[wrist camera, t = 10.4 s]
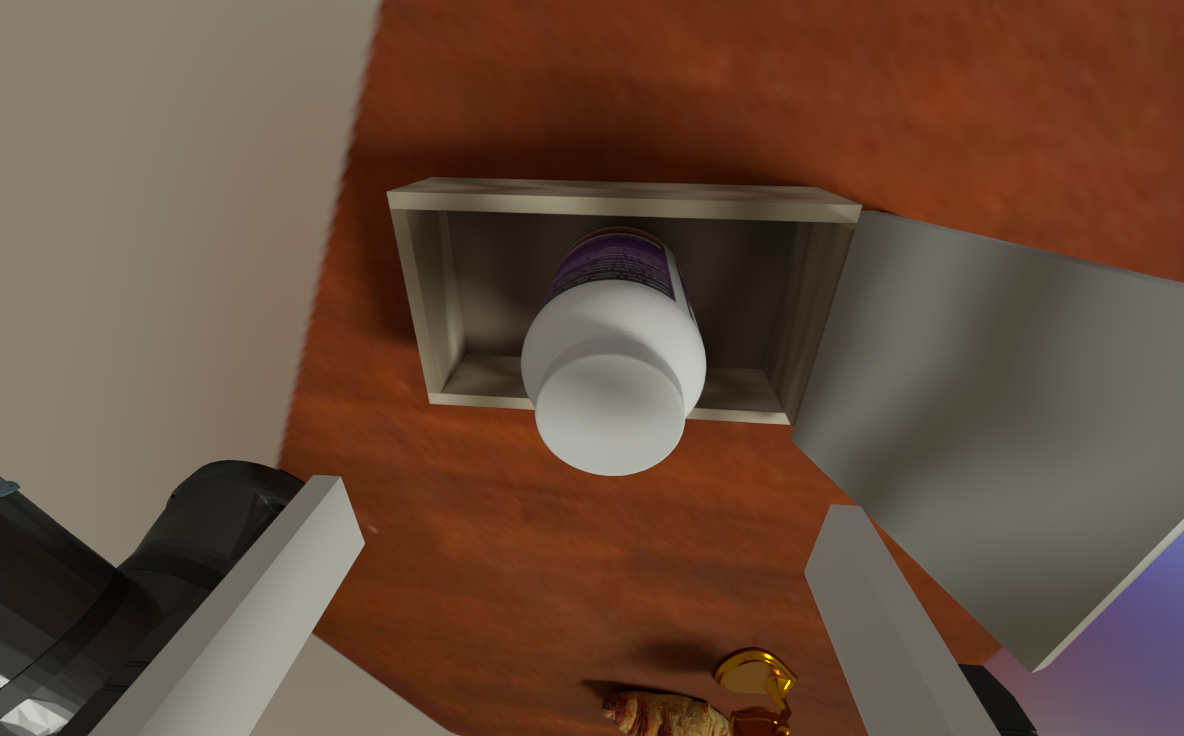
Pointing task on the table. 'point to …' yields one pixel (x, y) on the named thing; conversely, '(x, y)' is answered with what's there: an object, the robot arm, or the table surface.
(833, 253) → the grey wooden hinged box
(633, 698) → the croissant
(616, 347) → the pill bottle
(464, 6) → the table surface
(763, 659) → the figurine
